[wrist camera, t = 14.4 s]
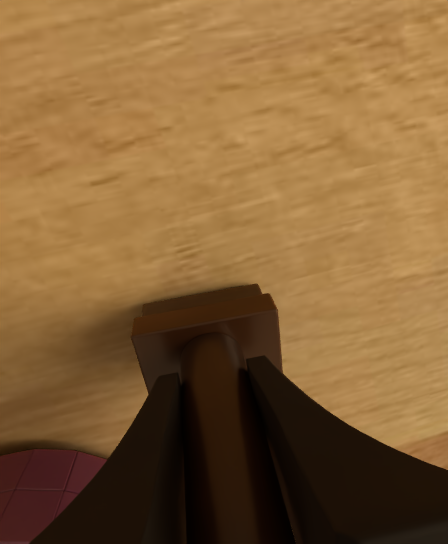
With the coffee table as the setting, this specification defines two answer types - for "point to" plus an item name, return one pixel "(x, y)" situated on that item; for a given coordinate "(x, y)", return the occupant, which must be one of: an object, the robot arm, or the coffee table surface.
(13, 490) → the bowl
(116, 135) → the coffee table surface
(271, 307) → the brown peg stand
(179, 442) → the robot arm
